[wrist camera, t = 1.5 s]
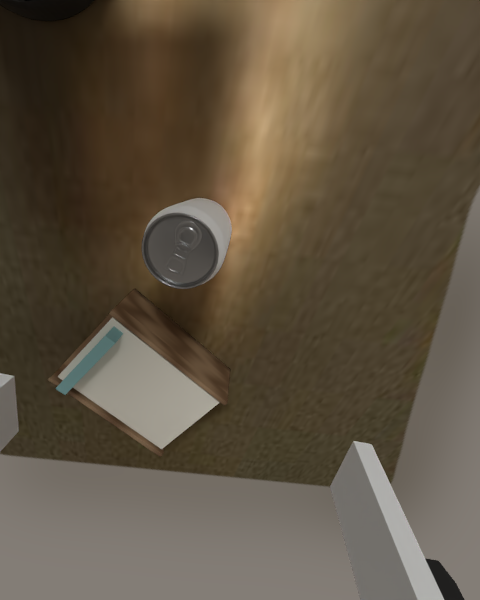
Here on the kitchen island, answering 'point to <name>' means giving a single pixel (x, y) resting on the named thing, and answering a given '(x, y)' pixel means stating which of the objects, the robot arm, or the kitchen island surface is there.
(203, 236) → the can
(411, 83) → the kitchen island surface
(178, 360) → the box
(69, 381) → the lid
